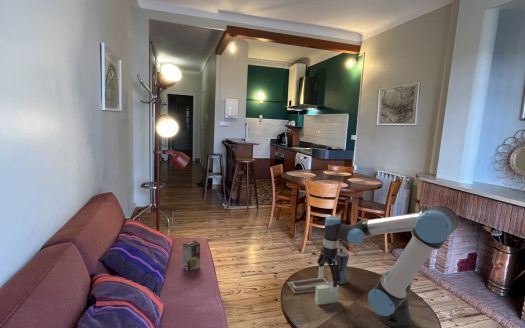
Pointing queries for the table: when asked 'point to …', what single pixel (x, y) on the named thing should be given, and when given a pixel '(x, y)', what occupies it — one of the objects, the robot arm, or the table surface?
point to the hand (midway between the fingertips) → (326, 284)
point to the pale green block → (325, 294)
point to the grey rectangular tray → (306, 285)
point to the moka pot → (342, 265)
